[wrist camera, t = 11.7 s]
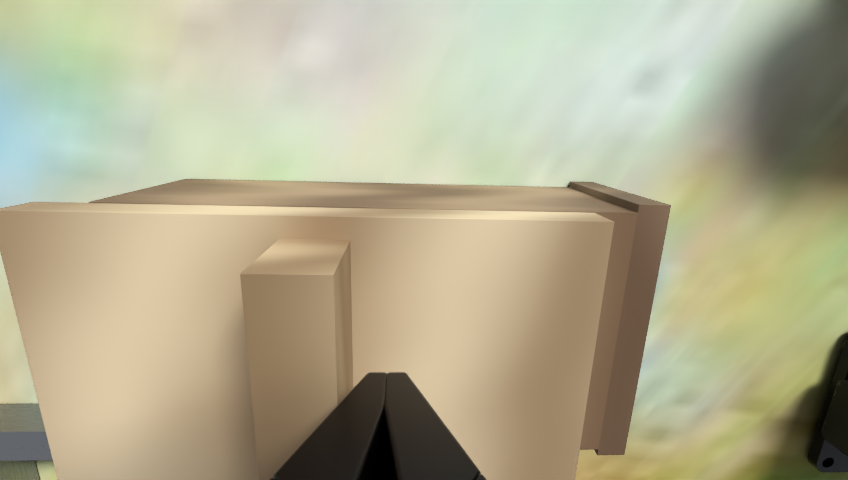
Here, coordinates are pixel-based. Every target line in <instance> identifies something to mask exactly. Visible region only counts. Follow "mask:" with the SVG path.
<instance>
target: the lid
mask: <svg viewBox="0 0 848 480" xmlns="http://www.w3.org/2000/svg"><path fill="white" fill-rule="evenodd" d="M613 228H614V221H611V220H609V219H607V218H605V217H603V216H600V215H598V214H596V213H584V212H532V211H480V210H427V209H375V208H323V207H270V206H218V205H166V204H113V203H61V202H30V203H25V204H20V205H15V206H10V207H5V208H0V252H1V256H2V260H3V264H4V268H5V272H6V276H7V280H8V284H9V288H10V292H11V296H12V300H13V304H14V308H15V312H16V315H17V319H18V323H19V327H20V331H21V335H22V339H23V343H24V347H25V351H26V355H27V359H28V363H29V367H30V371H31V375H32V379H33V383H34V387H35V391H36V395H37V399H38V403H39V407H40V411H41V415H42V419H43V423H44V427H45V431H46V435H47V439H48V443H49V447H50V451H51V455H52V459H53V463H54V467H55V471H56V475H57V479H58V480H269V479H270V478H273V475H274V474H275V473H276V472H277V470H278V469H279V468H280V467H281V466H282V465H283V464H284V463H285V462H286V461H287V460H288V459H289V457H290V456H291V455H292V454H293V453H294V452H295V451H296V450H297V449H298V448H299V447H300V446H301V445H302V443H303V442H304V441H305V440H306V439H307V438H308V437H309V436H310V435H311V434H312V433H313V432H314V430H315V429H316V428H317V427H318V426H319V425H320V424H321V423H322V422H323V421H324V420H325V419H326V417H327V416H328V415H329V414H330V413H331V412H332V411H333V410H334V409H335V408H336V407H337V406H338V405H339V403H340V402H341V401H342V400H343V399H344V398H345V397H346V396H347V395H348V394H349V393H350V392H351V390H352V389H353V388H354V387H355V386H356V385H357V384H358V383H359V382H360V381H361V380H362V379H363V377H364V376H365V375H366V374H367V373H369V372H385V373H389V372H405V373H407V374H408V376H409V377H410V378H411V380H412V381H413V382H414V384H415V385H416V386H417V388H418V389H419V390H420V392H421V393H422V394H423V396H424V397H425V398H426V400H427V401H428V402H429V404H430V405H431V406H432V408H433V409H434V410H435V412H436V413H437V414H438V416H439V417H440V418H441V420H442V421H443V422H444V424H445V425H446V426H447V428H448V429H449V430H450V432H451V433H452V434H453V436H454V437H455V438H456V440H457V441H458V442H459V444H460V445H461V446H462V448H463V449H464V450H465V452H466V453H467V454H468V456H469V457H470V458H471V460H472V461H473V462H474V464H475V465H476V466H477V468H478V469H479V470H480V472H481V474H482V475H483V476H484V477H485V478H486V480H575V477H576V470H577V464H578V457H579V451H580V444H581V438H582V431H583V424H584V418H585V411H586V405H587V398H588V392H589V385H590V379H591V372H592V365H593V359H594V352H595V346H596V339H597V333H598V326H599V320H600V313H601V306H602V300H603V293H604V287H605V280H606V274H607V267H608V260H609V254H610V247H611V241H612V234H613Z"/></svg>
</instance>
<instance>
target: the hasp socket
mask: <svg viewBox="0 0 848 480" xmlns="http://www.w3.org/2000/svg"><path fill="white" fill-rule="evenodd" d="M35 460H53V459H52V455H51V451H50V447H49V443H48V439H47V435H46V431H45V427H44V423H43V419H42V415H41V411H40V407H39V404H0V480H40V479H39V475H38V471H37V467H36V463H35Z"/></svg>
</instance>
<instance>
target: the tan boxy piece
mask: <svg viewBox="0 0 848 480" xmlns="http://www.w3.org/2000/svg"><path fill="white" fill-rule="evenodd" d="M89 203H113V204H166V205H218V206H270V207H323V208H375V209H427V210H480V211H532V212H584V213H596V214H598V215H600V216H603V217H605V218H607V219H609V220H611V221H614V228H613V234H612V241H611V247H610V254H609V260H608V267H607V274H606V280H605V287H604V293H603V300H602V306H601V313H600V320H599V326H598V333H597V339H596V346H595V352H594V359H593V365H592V372H591V379H590V385H589V392H588V398H587V405H586V411H585V418H584V424H583V431H582V438H581V444H580V450H588V449H594V450H595V452H596V453H597V455H624V453H625V448H626V442H627V437H628V432H629V426H630V421H631V416H632V410H633V405H634V400H635V394H636V389H637V384H638V378H639V373H640V368H641V362H642V357H643V352H644V346H645V341H646V336H647V330H648V325H649V320H650V314H651V309H652V304H653V298H654V293H655V287H656V282H657V277H658V271H659V266H660V261H661V255H662V250H663V245H664V239H665V234H666V229H667V223H668V218H669V213H670V207H671V205H668V204H665V203H661V202H658V201H654V200H651V199H648V198H644V197H641V196H637V195H634V194H631V193H627V192H624V191H621V190H617V189H614V188H610V187H607V186H604V185H600V184H597V183H594V182H570V186H569V187H526V186H481V185H436V184H391V183H346V182H301V181H256V180H211V179H183V180H179V181H175V182H171V183H167V184H163V185H158V186H154V187H150V188H146V189H142V190H137V191H133V192H129V193H125V194H121V195H117V196H112V197H108V198H104V199H100V200H96V201H91V202H89Z"/></svg>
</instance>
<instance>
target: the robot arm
mask: <svg viewBox="0 0 848 480" xmlns="http://www.w3.org/2000/svg"><path fill="white" fill-rule="evenodd" d="M808 461H809V463H811V464H812V465H813V466H814V467H815V468H817V469H818V470H819V471H821V472H848V337H847V339H846V341H845V344H844V347H843V350H842V353H841V356H840V359H839V362H838V365H837V368H836V371H835V375H834V378H833V381H832V384H831V387H830V390H829V393H828V396H827V399H826V402H825V405H824V408H823V411H822V414H821V417H820V420H819V423H818V426H817V429H816V432H815V436H814V439H813V442H812V445H811V448H810V451H809V454H808ZM269 480H486V478H485V477H484V476H483V475H482V474H481V472H480V470H479V469H478V468H477V466H476V465H475V464H474V462H473V461H472V460H471V458H470V457H469V456H468V454H467V453H466V452H465V450H464V449H463V448H462V446H461V445H460V444H459V442H458V441H457V440H456V438H455V437H454V436H453V434H452V433H451V432H450V430H449V429H448V428H447V426H446V425H445V424H444V422H443V421H442V420H441V418H440V417H439V416H438V414H437V413H436V412H435V410H434V409H433V408H432V406H431V405H430V404H429V402H428V401H427V400H426V398H425V397H424V396H423V394H422V393H421V392H420V390H419V389H418V388H417V386H416V385H415V384H414V382H413V381H412V380H411V378H410V377H409V376H408V374H407V373H405V372H389V373H385V372H369V373H367V374H366V375H365V376H364V377H363V379H362V380H361V381H360V382H359V383H358V384H357V385H356V386H355V387H354V388H353V389H352V390H351V392H350V393H349V394H348V395H347V396H346V397H345V398H344V399H343V400H342V401H341V402H340V403H339V405H338V406H337V407H336V408H335V409H334V410H333V411H332V412H331V413H330V414H329V415H328V416H327V417H326V419H325V420H324V421H323V422H322V423H321V424H320V425H319V426H318V427H317V428H316V429H315V430H314V432H313V433H312V434H311V435H310V436H309V437H308V438H307V439H306V440H305V441H304V442H303V443H302V445H301V446H300V447H299V448H298V449H297V450H296V451H295V452H294V453H293V454H292V455H291V456H290V457H289V459H288V460H287V461H286V462H285V463H284V464H283V465H282V466H281V467H280V468H279V469H278V470H277V472H276V473H275V474H274V475H273V478H270V479H269Z"/></svg>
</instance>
